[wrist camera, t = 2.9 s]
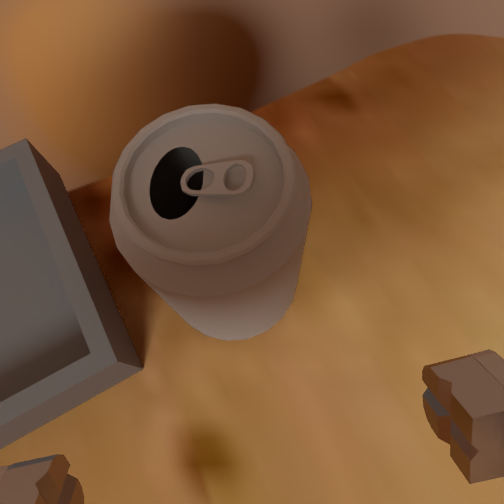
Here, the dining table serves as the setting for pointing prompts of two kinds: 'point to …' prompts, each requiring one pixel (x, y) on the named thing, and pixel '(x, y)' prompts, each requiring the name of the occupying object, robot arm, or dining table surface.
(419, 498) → the dining table surface
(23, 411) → the tray
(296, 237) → the can
